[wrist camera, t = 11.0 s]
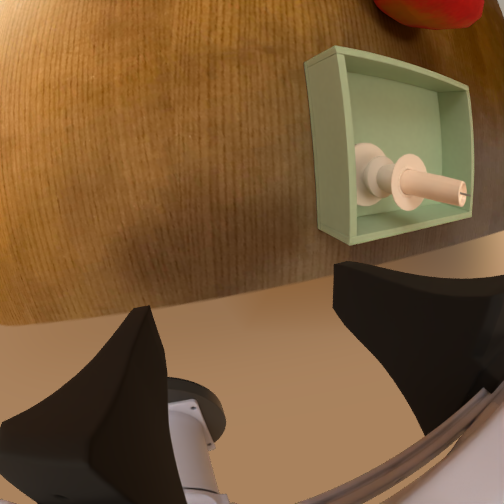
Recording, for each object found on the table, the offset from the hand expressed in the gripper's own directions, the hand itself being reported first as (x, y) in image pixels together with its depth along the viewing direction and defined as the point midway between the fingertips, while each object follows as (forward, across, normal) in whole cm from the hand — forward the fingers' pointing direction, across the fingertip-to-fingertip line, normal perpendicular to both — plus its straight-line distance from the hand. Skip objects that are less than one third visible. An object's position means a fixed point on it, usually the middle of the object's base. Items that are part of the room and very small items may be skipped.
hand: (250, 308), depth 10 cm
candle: (+10, -13, -3) cm, 17 cm away
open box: (+10, -16, -6) cm, 20 cm away
